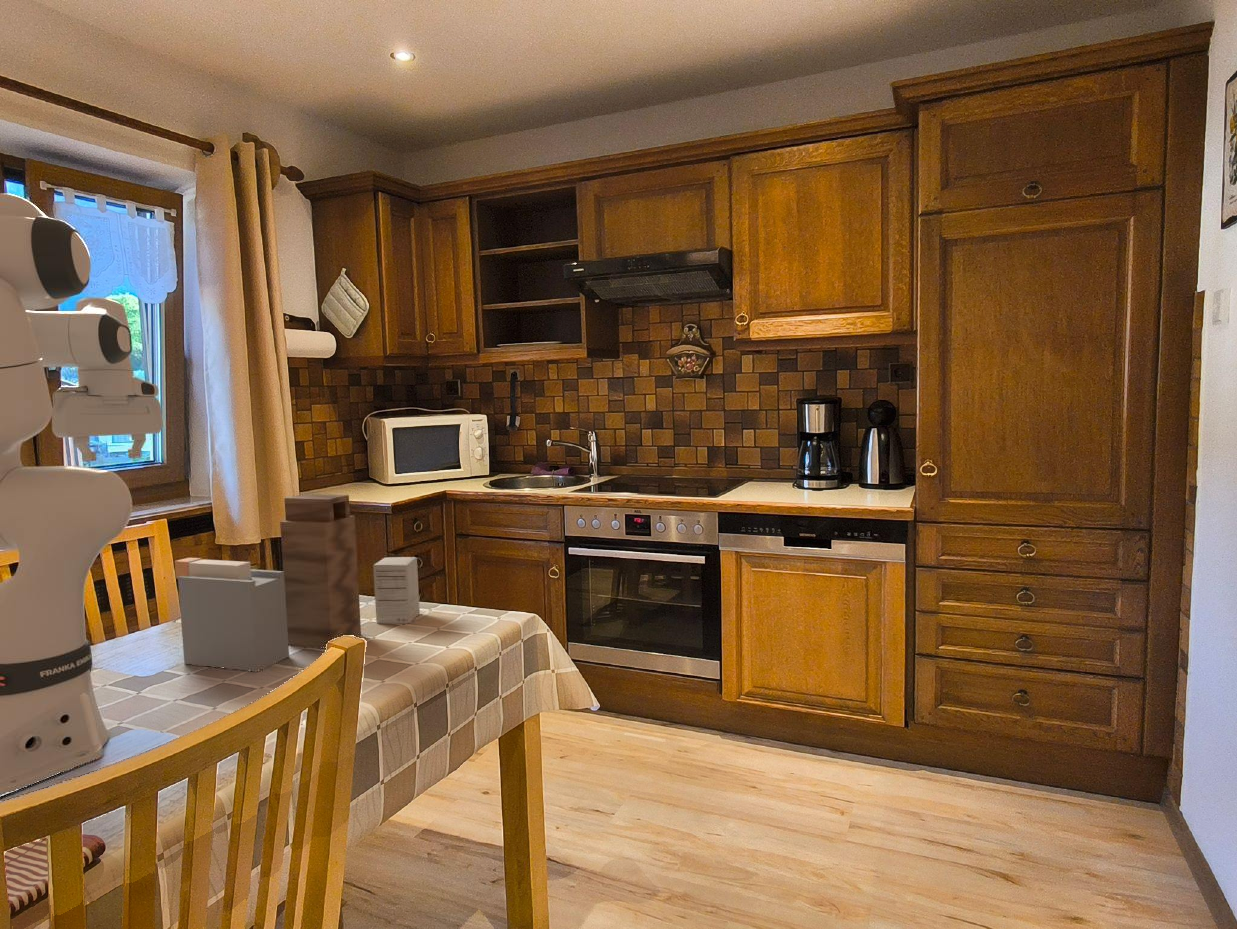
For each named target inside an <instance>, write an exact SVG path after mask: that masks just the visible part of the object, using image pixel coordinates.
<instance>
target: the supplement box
mask: <svg viewBox="0 0 1237 929" xmlns="http://www.w3.org/2000/svg"><path fill="white" fill-rule="evenodd" d="M372 565H373V568H372V569H373V581H374V582H373V583H374V584H373V585H374V587H373V588H374V601H375V616H376V617H375V619H376V620H375V621H376V623H377V624H411V622H412V621H413V620H414V619H415V618H416V617H417V616H418V615H419V614H420V612H421V611H420V595H419V594H420V592H419V578H418V577H419V576H418V575H419V574H418V573H419V572H418V558H417V557H415V556H398V557H397V556H396V557H395V556H393V557H392V556H391V557H383V558H382V559H381V560H379V561H377V562H376V563H374V564H372Z"/></svg>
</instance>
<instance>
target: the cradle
mask: <svg viewBox="0 0 1237 929" xmlns="http://www.w3.org/2000/svg"><path fill="white" fill-rule="evenodd" d="M177 584H178V596H179V599H178V600H179V608H180V611H179V613H180V625H181V634H182V635H181V637H182V650H183V663H184V665H187V664H192V665H191V666H196V665H197V666H199V667H205V666H211V667H210V668H214V667H224V668H230V669H229V670H232V669H239V670H238V671H241V670H248V671H247V672H250V671H255V672H254V673H258V672H259V671H258V670H261V669H263V668H265V667H267V668H269V667H271V666H273V665H275V664H276V663H275V662H277V663H279V662H281V660H282V661H284V660H286V659H288V658H290V649H289V646H290V645H288V629H287V614H286V598H285V582H284V571H283V570H268V569H267V570H266V569H254V568H251V579H248V580H239V579H224V578H209V577H195V576H180V577H178V579H177ZM287 657H288V658H287ZM285 658H286V659H285ZM283 659H284V660H283ZM278 661H279V662H278ZM274 663H275V664H274ZM272 664H273V665H272ZM270 665H271V666H270ZM268 666H269V667H268ZM265 669H266V668H265ZM249 670H250V671H249ZM263 670H264V669H263ZM257 671H258V672H257ZM261 671H262V670H261Z"/></svg>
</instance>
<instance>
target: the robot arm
mask: <svg viewBox="0 0 1237 929" xmlns="http://www.w3.org/2000/svg"><path fill="white" fill-rule="evenodd" d="M91 269H92V260H91V256H90V251H89V249H88V246H87V244H86V243H85V241H84V240H83V237H82V235H81V234H80V232H79V231H78V230H77V228H74V227H73V226H72V225H71V224H69V223H68V222H66V221H64V220H61V219H59V218H58V219H57V218H52V217H49V216H47V215H46V214H45V213H44V212H43V211H41V210H40V209H39V208H38V207H37V206H36V205H35V204H33V203H32V202H31V201H29V200H28V199H26V198H23V197H22V196H18V195H15V194H12V193H5V192H4V193H2V192H1V193H0V551H14V550H15V551H18V555H19V558H18V564H17V565H18V566H17V568H16V571H15V573H14V575H13V576H11V577H9V578H7V579H5V580H3V581H1V582H0V795H2V794H5V793H6V792H11V791H15V790H16V789H20V788H23V787H25V786H28V785H29V784H33V783H35V782H37V781H41V780H44V779H45V778H47V777H50V776H52V775H55V774H57V773H59V772H63V771H66V772H68V771H69V770H68V769H71V768H73V769H75V768H74V767H76V766H78V767H80V766H79V765H81V766H83V765H85V764H84V763H86V764H88V763H91V762H93V761H95V759H96V760H98V759H100V758H101V757H103V755H104V749H103V747H104V746H105V744H106V743H107V742H108V741H109V738H110V733H109V731H108V729H107V727H106V725H105V723H104V721H103V718H102V716H101V713H100V709H99V706H98V703H97V700H96V699H97V698H96V696H95V691H94V687H93V682H92V675H91V673H92V667H93V656H92V654H93V653H92V647H91V642H90V641H89V640H88V639H87V635H86V634H87V633H86V621H85V620H86V619H85V618H86V617H85V615H86V614H85V589H86V584H87V583H86V582H87V578H88V575H89V573H90V570H91V568H92V566H93V564H94V562H95V560H97V557H98V555H99V554H100V553H101V552H102V551H103V550H104V548H105V547H107V546H108V545H109V544H110V543H111V542H113V541H114V540H116V539H117V538H118V537H119V536H120V535H121V534H122V533H123V531H124V530H125V529H126V528H127V526H128V524H129V522H130V519H131V517H132V512H133V499H132V495H131V492H130V490H129V487H128V486H127V484H126V482H125V481H124V480H123V479H122V477H120V476H119V475H118V474H117V473H115V472H114V471H110V470H106V469H100V468H96V467H87V466H82V465H81V466H80V465H55V466H54V465H51V466H45V465H44V466H24V465H23V463H22V460H21V448H22V444H23V443H25V442H27V441H28V440H30V439H31V438H34V437H35V436H37V434H39V433H41V432H42V431H43V430H44V429H45V428H46V427H47V426H48V425H49V423H50V421H51V432H52V433H53V434H54V436H55V437H56V438H61V439H62V438H64V439H65V438H73V442H74V445H75V446H76V448H77V449H78V450H79V452H80V453H81V460H82V462H85V463H91V462H96V461H97V459H98V458H97V451H92V448H91V447H90V445H89V443H90V442H91V437H103V436H104V437H105V436H128V435H131V441H133V443H132V446H131V448H129V449H127V453H128V458H129V459H139V458H140V459H141V458H142V456H143V453H142V450H143V447H144V446H145V445H144V444H145V443H146V442H147V441H146V440H147V436H146V435H148V434H149V435H152V434H153V435H154V434H159V433H161V432H162V429H163V423H164V422H163V413H162V406H161V403H160V401H159V399H158V398H157V396H158V395H159V393H160V391H159V390H160V389H159V387H158V386H157V385H156V384H154V383H151V382H148V381H146V380H143V379H141V378H139V377H137V376H134V375H135V374H134V372H135V371H134V368H133V365H132V363H131V353H132V351H133V345H132V344H133V343H132V334H131V330H130V325H129V320H128V317H127V316H128V315H127V312H126V309H125V307H124V305H123V303H120V302H119V301H116V300H113V299H108V298H105V297H86V298H82V299H79V300H78V301H77V302H76V306H75V311H40V310H46V309H51V308H54V307H57V306H59V305H61V304H63V303H64V302H67V300H69V299H71V297H75V296H77V295H80V294H81V293H82V292H83V291H84V290H85V289H86V288H87V286H88V285H89V283H90V274H91ZM36 310H39V311H36ZM69 367H72V368H75V367H76V368H77V380H78V386H77V385H76V386H75V385H73V386H68V385H62V386H60V387H59V388H57V389H56V390H55V391H54V392H53V393H52V399H51V394H50V390H49V386H48V381H47V380H48V379H47V377H46V372H45V368H69ZM92 760H93V761H92ZM90 761H91V762H90ZM87 762H88V763H87ZM82 764H83V765H82ZM76 768H77V767H76ZM67 770H68V771H67ZM71 770H72V769H71ZM63 773H64V772H63ZM44 781H45V780H44ZM41 782H42V781H41Z"/></svg>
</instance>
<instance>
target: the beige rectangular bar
mask: <svg viewBox="0 0 1237 929" xmlns="http://www.w3.org/2000/svg"><path fill="white" fill-rule="evenodd" d="M251 569H252V566H251V561H236V560H222V559H221V560H219V559H205V558H204V559H203V558H202V557H189V556H188V557H185V558H182V559H178V560H175V561H174V570H175V571H174V572H175V573H174V574H175V579H177V580H178V577H180V576H195V577H209V578H224V579H239V580H248V579H251Z"/></svg>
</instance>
